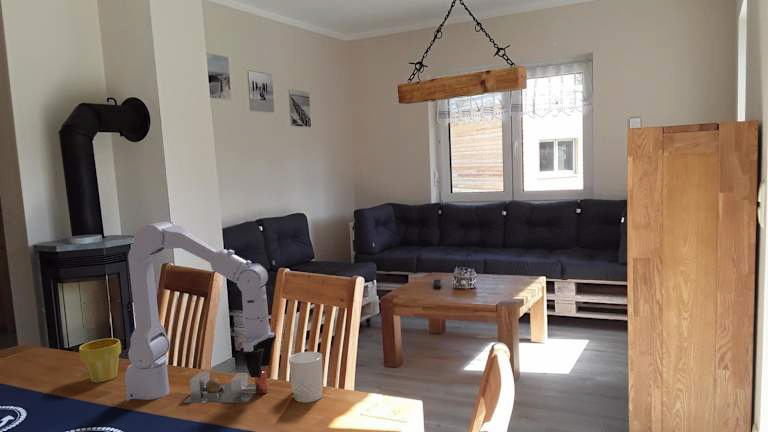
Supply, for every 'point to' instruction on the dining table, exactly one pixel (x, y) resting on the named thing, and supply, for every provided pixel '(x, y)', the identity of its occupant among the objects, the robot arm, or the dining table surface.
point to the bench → (223, 395)
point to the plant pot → (101, 358)
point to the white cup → (306, 376)
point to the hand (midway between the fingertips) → (260, 371)
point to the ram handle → (241, 383)
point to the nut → (213, 385)
